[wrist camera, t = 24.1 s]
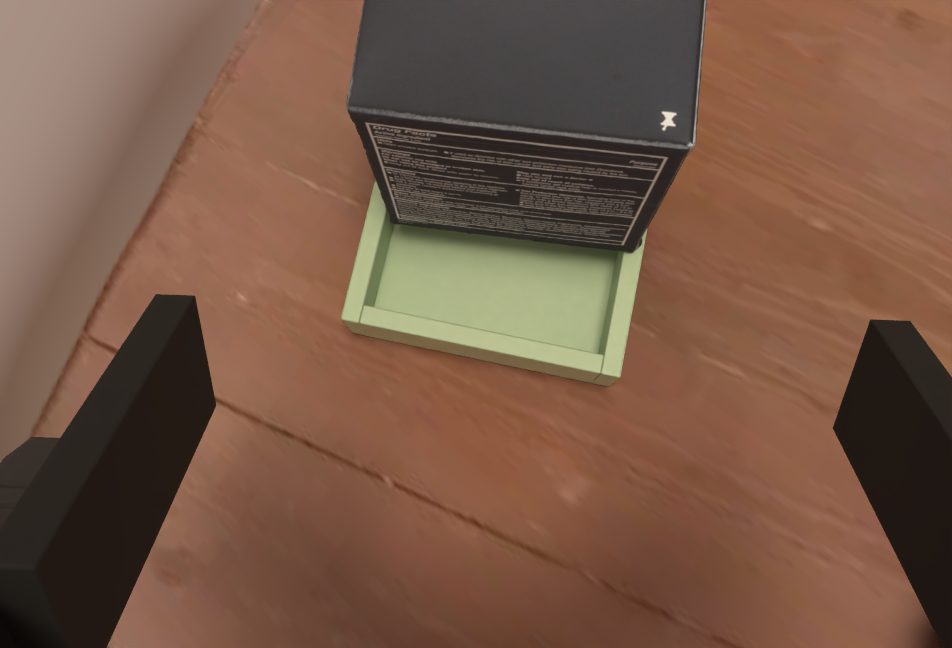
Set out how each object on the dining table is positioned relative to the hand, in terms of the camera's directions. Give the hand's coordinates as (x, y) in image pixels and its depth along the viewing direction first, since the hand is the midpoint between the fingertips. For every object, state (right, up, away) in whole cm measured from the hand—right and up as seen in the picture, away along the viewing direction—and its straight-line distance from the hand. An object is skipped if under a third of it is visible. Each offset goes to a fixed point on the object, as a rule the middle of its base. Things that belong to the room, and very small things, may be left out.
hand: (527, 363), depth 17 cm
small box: (+1, +7, +19) cm, 20 cm away
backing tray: (+1, +7, +21) cm, 22 cm away
